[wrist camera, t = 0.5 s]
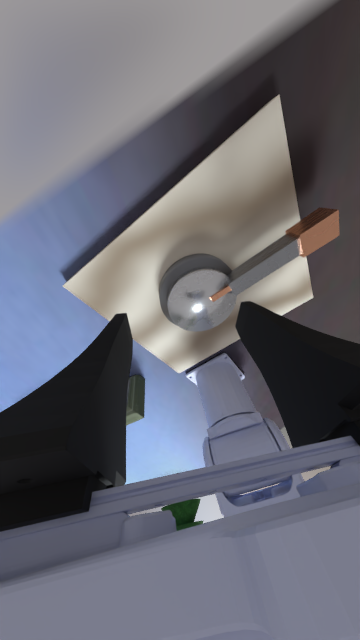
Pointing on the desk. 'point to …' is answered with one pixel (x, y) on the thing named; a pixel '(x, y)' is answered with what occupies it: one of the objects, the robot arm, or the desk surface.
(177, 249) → the board
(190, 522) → the decorative tree
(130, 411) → the handheld radio
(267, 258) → the frying pan
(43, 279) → the desk surface
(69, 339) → the desk surface
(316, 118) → the desk surface
